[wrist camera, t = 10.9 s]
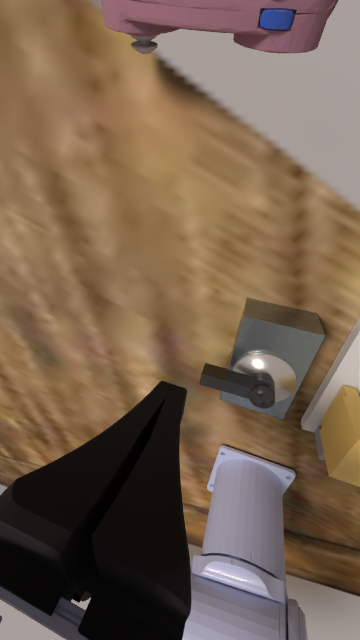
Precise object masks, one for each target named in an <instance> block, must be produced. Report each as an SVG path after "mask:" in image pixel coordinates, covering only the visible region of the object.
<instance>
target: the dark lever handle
mask: <svg viewBox="0 0 360 640" xmlns="http://www.w3.org/2000/svg"><path fill="white" fill-rule="evenodd" d="M200 384H201V385H204V386H207V387H211V388H214V389H217V390H220V391H224V392H227V393H230V394H234V395H237V396H240V397H243V398H247V399H249V400H250V402H251V403H252V404H253V405H254V406H256V407H258V408H262V409H267V408H270V407H272V406H273V405H274V404H275V382H274V380H273V379H272V378H271V377H270V376H268V375H265V374H258V375H255V376H254V377H253V376H250V375H246V374H243V373H239V372H235V371H232V370H228V369H225V368H221V367H218V366H214V365H211V364H207V363H205V366H204V368H203V371H202V374H201V379H200Z"/></svg>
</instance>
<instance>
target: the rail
mask: <svg viewBox="0 0 360 640" xmlns="http://www.w3.org/2000/svg"><path fill="white" fill-rule="evenodd" d="M343 385H345V386H348V387H352V388H355V389H357V392H358V394H359V396H360V316H359V318H358V320H357V322H356V323H355V325H354V327H353V329H352V330H351V332H350V334H349V336H348V337H347V339H346V341H345V343H344V345H343V346H342V348H341V350H340V352H339V353H338V355H337V357H336V359H335V360H334V362H333V364H332V366H331V367H330V369H329V371H328V373H327V374H326V376H325V378H324V380H323V382H322V383H321V385H320V387H319V389H318V390H317V392H316V394H315V396H314V397H313V399H312V401H311V403H310V404H309V406H308V408H307V410H306V411H305V413H304V415H303V417H302V419H301V426H302V429H303V430H307V431H310V432H313V433H314V436H315V441H316V447H317V453H318V458H319V459H321V460H324V461H326V460H325V455H324V450H323V445H322V440H321V435H320V429H321V428H322V422H321V419H322V417H323V416H324V414H325V413H326V411H327V409H328V408H329V406H330V405H331V403H332V402H333V400H334V398H335V397H336V395H337V394H338V392H339V391H340V389H341V387H342V386H343Z"/></svg>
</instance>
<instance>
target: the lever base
mask: <svg viewBox="0 0 360 640" xmlns="http://www.w3.org/2000/svg"><path fill="white" fill-rule="evenodd" d="M324 337H325V334H324V331H323V328H322V325H321V322H320V320H319V317H318V314H315V313H311V312H307V311H302V310H298V309H293V308H289V307H285V306H280V305H276V304H272V303H267V302H263V301H258V300H254V299H250V298H247V300H246V303H245V307H244V311H243V314H242V318H241V321H240V325H239V328H238V332H237V336H236V339H235V343H234V346H233V350H232V354H231V357H230V361H229V364H228V368H227V369H228V370H232V371H235V372H239V373H243V374H246V375H250V376H253V377H254V376H255V375H258V374H265V375H268V376H270V377H271V378H272V379H273V380H274V382H275V404H274V405H273V406H272V407H270V408H267V409H262V408H258V407H256V406H254V405H253V404H252V403H251V402H250V400H249V399H247V398H243V397H240V396H237V395H234V394H230V393H227V392H224V391H222V392H221V397H220V400H223V401H226V402H230V403H233V404H236V405H239V406H242V407H245V408H248V409H251V410H254V411H258V412H261V413H264V414H267V415H270V416H273V417H276V418H279V419H282V420H283V418H284V416H285V414H286V412H287V410H288V408H289V406H290V404H291V402H292V400H293V398H294V396H295V395H296V393H297V391H298V389H299V387H300V385H301V383H302V381H303V379H304V377H305V375H306V373H307V371H308V369H309V367H310V365H311V363H312V361H313V359H314V357H315V355H316V353H317V351H318V349H319V347H320V345H321V343H322V341H323V339H324Z"/></svg>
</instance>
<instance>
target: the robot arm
mask: <svg viewBox="0 0 360 640" xmlns="http://www.w3.org/2000/svg"><path fill="white" fill-rule="evenodd" d="M186 394H187V390H186V389H185V388H183V387H179V386H176V385H173V384H170V383H167V382H164V381H161V382H159V384H158V385H157V386H156V387H155V388H154V389H153V390H152V391H151V392H150V393H149V394H148V395H147V396H146V397H145V398H144V399H143V400H142V401H141V402H140V403H138V404H137V405H136V406H135V407H134V408H133V409H132V410H131V411H129V412H128V413H127V414H126V415H124V416H123V417H122V418H121V419H119V420H118V421H117V422H116V423H114V424H113V425H112V426H110V427H109V428H108V429H106V430H105V431H103V432H102V433H101V434H99V435H98V436H96V437H95V438H93V439H91V440H90V441H88V442H87V443H85V444H84V445H82V446H80V447H79V448H77V449H75V450H73V451H72V452H70V453H68V454H66V455H64V456H62V457H61V458H59V459H57V460H55V461H53V462H51V463H49V464H47V465H45V466H43V467H41V468H39V469H37V470H35V471H32V472H30V473H28V474H26V475H24V476H22V477H20V478H17V479H16V480H15V481H14V482H13V483H12V484H11V485H10V486H9V487H8V488H7V489H6V490H5V491H4V492H3V493H2V494H1V495H0V599H1V600H2V601H4V602H6V603H7V604H9V605H11V606H12V607H14V608H15V609H17V610H19V611H21V612H22V613H24V614H25V615H27V616H29V617H30V618H32V619H33V620H35V621H37V622H38V623H40V624H42V625H43V626H45V627H46V628H48V629H50V630H51V631H53V632H55V633H56V634H58V635H59V636H61V637H63V638H65V639H66V640H308V639H307V629H306V620H305V614H304V613H303V611H302V610H301V608H300V607H299V606H298V603H297V601H296V600H294V599H289V600H288V595H287V591H286V579H285V552H284V526H283V500H282V496H283V494H284V493H285V491H286V490H287V488H288V487H289V485H290V484H291V482H292V481H293V480H294V478H295V476H296V475H295V471H293V470H292V469H289V468H286V467H283V466H281V465H278V464H275V463H272V462H269V461H267V460H264V459H261V458H258V457H256V456H253V455H250V454H247V453H244V452H242V451H239V450H236V449H233V448H231V447H228V446H225V445H222V446H220V448H219V451H218V454H217V457H216V460H215V463H214V466H213V469H212V472H211V475H210V479H209V482H208V485H207V489H208V490H209V491H211V492H213V493H212V498H211V504H210V509H209V514H208V520H207V525H206V531H205V536H204V541H203V547H202V552H201V556H199V555H194V559H193V564H192V567H190V557H189V550H188V544H187V537H186V530H185V522H184V514H183V505H182V494H181V483H180V462H179V436H180V423H181V419H182V416H183V411H184V406H185V400H186ZM90 597H91V600H90V602H89V604H88V607H87V609H86V610H83V609H82V608H80V607H78V606H77V605H75V604H73V603H72V602H71V600H72V599H73V600H75V601H77V602H80V601H86V600H87V599H89V598H90ZM1 621H2V617H1V616H0V622H1Z"/></svg>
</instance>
